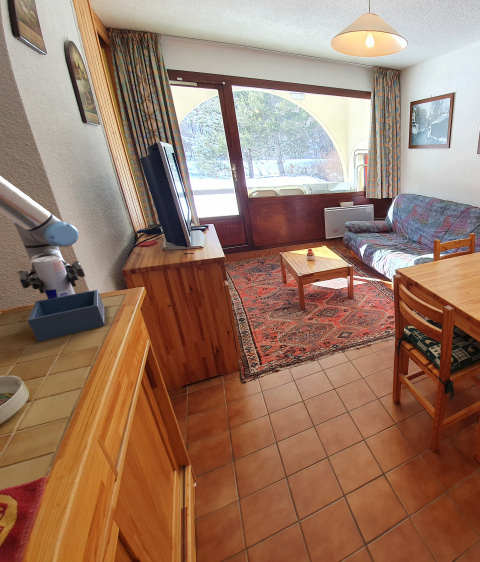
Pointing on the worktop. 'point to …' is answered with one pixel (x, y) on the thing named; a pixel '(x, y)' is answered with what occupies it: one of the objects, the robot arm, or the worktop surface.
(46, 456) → the worktop surface
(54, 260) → the beverage can
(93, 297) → the tote
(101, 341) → the worktop surface
